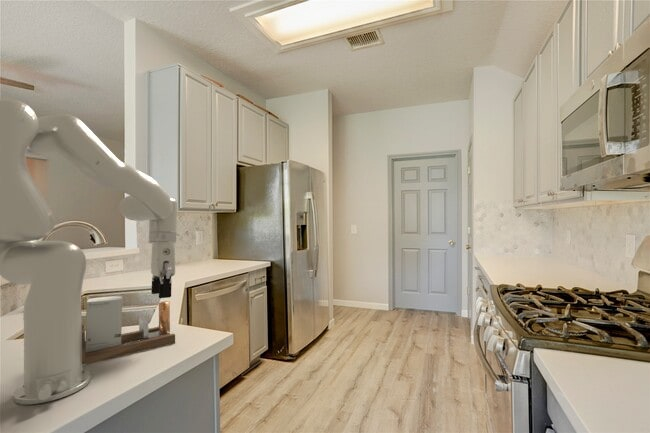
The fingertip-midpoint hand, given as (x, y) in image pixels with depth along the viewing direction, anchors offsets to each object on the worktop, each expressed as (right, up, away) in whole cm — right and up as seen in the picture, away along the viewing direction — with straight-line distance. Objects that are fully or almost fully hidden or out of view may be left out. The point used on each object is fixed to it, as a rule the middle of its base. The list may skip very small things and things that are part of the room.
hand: (160, 295), depth 98 cm
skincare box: (-11, -14, -9) cm, 20 cm away
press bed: (-7, -14, -6) cm, 16 cm away
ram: (-1, -13, -1) cm, 13 cm away
